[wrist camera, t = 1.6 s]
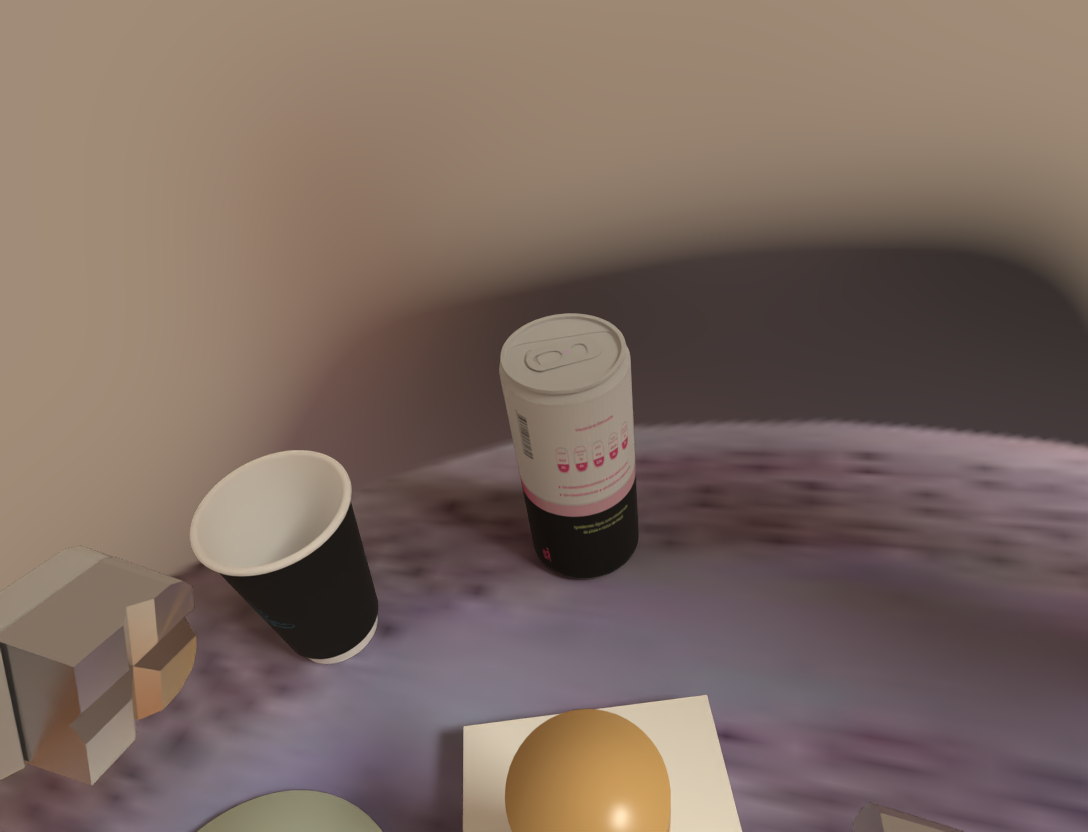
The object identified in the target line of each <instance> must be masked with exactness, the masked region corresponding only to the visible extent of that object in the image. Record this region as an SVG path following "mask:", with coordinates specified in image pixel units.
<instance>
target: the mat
mask: <svg viewBox="0 0 1088 832" xmlns="http://www.w3.org/2000/svg"><path fill="white" fill-rule="evenodd" d="M197 832H383V831H382V830H381V829H380V828H379V827H378V825H377V824H376V823H375V822H374V821H373V820H372V819H371V818H370V817H369V816H368V815H367V814H366V813H364V812H363V811H362V810H361V809H359V808H358V807H357V806H355V805H353V804H351V803H350V802H348V801H346V800H344V799H342V798H339V797H336V796H334V795H331V794H328V793H323V792H317V791H312V790H291V791H282V792H276V793H272V794H268V795H264V796H260V797H257V798H255V799H252V800H249V801H247V802H244V803H242V804H240V805H238V806H236V807H234V808H232V809H230V810H228V811H226V812H224V813H223V814H221V815H220V816H218V817H217V818H215V819H214V820H212V821H210V822H209V823H207V824H206V825H205V826H204V827H202V828H201V829H200V830H199V831H197Z"/></svg>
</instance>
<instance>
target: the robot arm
mask: <svg viewBox="0 0 1088 832" xmlns="http://www.w3.org/2000/svg"><path fill="white" fill-rule="evenodd" d="M194 608H195V605H194V596H193V586H191V585H189V584H188V583H186V582H184V581H182V580H179V579H176V578H173V577H170V576H168V575H165V574H162V573H159V572H156V571H154V570H151V569H148V568H145V567H142V566H139V565H136V564H133V563H131V562H128V561H125V560H123V559H120V558H117V557H112V556H109V555H106V554H104V553H100V552H98V551H95V550H92V549H89V548H86V547H84V546H76V547H71V548H66V549H64V550H62V551H61V552H59V553H58V554H56V555H55V556H54V557H52V558H50V559H49V560H47V561H46V562H44V563H43V564H41V565H40V566H38V567H37V568H35V569H34V570H32V571H31V572H29V573H28V574H26V575H25V576H23V577H22V578H20V579H19V580H17V581H15V582H14V583H13V584H11V585H9V586H8V587H7V588H5V589H3V590H2V591H1V592H0V780H1V779H3V778H5V777H7V776H9V775H11V774H13V773H15V772H17V771H19V770H21V769H23V768H24V767H25V763H27V764H30V765H33V766H36V767H39V768H42V769H45V770H48V771H51V772H53V773H56V774H59V775H62V776H65V777H68V778H71V779H74V780H77V781H80V782H83V783H86V784H89V785H93V784H94V783H95V782H96V781H97V779H98V778H99V777H100V776H101V775H102V774H103V773H104V772H105V771H106V770H107V769H108V768H109V767H110V766H111V765H112V764H113V763H114V761H115V760H116V759H117V758H118V757H119V756H120V755H121V754H122V753H123V752H124V751H125V750H126V749H127V748H128V747H129V746H130V745H131V744H132V742H133V741H134V740H135V739H136V733H137V725H138V720H140V719H142V718H145V717H147V716H149V715H152V714H154V713H157V712H159V711H162V710H163V709H164V708H165V707H166V706H167V705H168V704H169V703H170V702H171V701H172V699H173V698H174V697H175V696H176V695H177V694H178V693H179V692H180V690H181V688H182V686H183V685H184V683H185V681H186V679H187V677H188V676H189V674H190V672H191V670H192V668H193V664H194V660H195V655H196V651H197V645H196V634H195V632H194V631H193V629H192V628H191V626H190V625H189V623H188V622H187V620H186V619H185V616H186V615H187V614H188V613H189V612H190V611H191V610H193V609H194ZM853 830H854V832H964V831H962V830H959V829H956V828H953V827H949V826H946V825H943V824H940V823H936V822H933V821H930V820H927V819H924V818H920V817H917V816H914V815H911V814H908V813H904V812H901V811H898V810H895V809H891V808H888V807H885V806H882V805H879V804H875V803H872V802H869V803H868V804H866V805H865V806H864V807H862V808H861V809H860V811H859V813H858V815H857V816H856V818H855V820H854V822H853Z"/></svg>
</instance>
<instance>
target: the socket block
mask: <svg viewBox="0 0 1088 832" xmlns="http://www.w3.org/2000/svg"><path fill="white" fill-rule="evenodd" d="M597 710H603V711H608V712H611V713H614V714H617V715H619V716H621V717H623V718H625V719H627V720H629V721H630V722H632V723H633V724H635V725H636V726H637V727H639V728H640V729H641V730H642V731H643V732H644V733H645V734H646V735H647V736H648V737H649V738H650V739H651V741H652V742H653V743H654V745H655V746H656V748H657V749H658V751H659V753H660V755H661V756H662V759H663V761H664V764H665V766H666V769H667V773H668V777H669V782H670V789H671V832H742V830H741V826H740V822H739V818H738V814H737V810H736V806H735V802H734V798H733V795H732V791H731V787H730V783H729V779H728V775H727V771H726V767H725V763H724V759H723V756H722V752H721V748H720V744H719V740H718V736H717V732H716V728H715V724H714V720H713V717H712V713H711V709H710V705H709V701H708V697H707V695H702V696H694V697H686V698H679V699H671V700H663V701H655V702H648V703H640V704H632V705H625V706H617V707H609V708H601V709H597ZM556 715H559V714H555V715H547V716H540V717H532V718H524V719H517V720H509V721H501V722H493V723H486V724H478V725H470V726H464V738H463V832H512V831H511V828H510V825H509V823H508V818H507V814H506V807H505V786H506V779H507V775H508V771H509V768H510V765H511V762H512V760H513V758H514V756H515V754H516V752H517V750H518V748H519V747H520V745H521V744H522V743H523V741H524V740H525V739H526V738H527V736H528V735H529V734H530V733H531V732H532V731H533V730H534V729H536V728H537V727H538V726H539V725H540V724H542V723H544V722H545V721H547V720H548V719H550V718H552V717H554V716H556Z"/></svg>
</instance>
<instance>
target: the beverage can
mask: <svg viewBox="0 0 1088 832" xmlns="http://www.w3.org/2000/svg"><path fill="white" fill-rule="evenodd" d="M499 373H500V378H501V383H502V388H503V393H504V398H505V402H506V408H507V413H508V417H509V423H510V428H511V433H512V438H513V443H514V448H515V453H516V458H517V463H518V468H519V473H520V477H521V482H522V487H523V492H524V497H525V502H526V507H527V512H528V517H529V522H530V527H531V532H532V537H533V542H534V547H535V550H536V552H537V554H538V556H539V558H540V559H541V561H542V562H543V563H544V564H545V565H546V566H547V567H549V568H550V569H551V570H553V571H555V572H556V573H559V574H561V575H564V576H567V577H571V578H578V579H589V578H596V577H600V576H604V575H607V574H609V573H611V572H613V571H615V570H617V569H618V568H620V567H621V566H622V565H624V564H625V563H626V562H627V561H628V560H629V558H630V557H631V556H632V554H633V552H634V550H635V548H636V546H637V542H638V514H637V493H636V471H635V449H634V427H633V407H632V384H631V362H630V354H629V350H628V348H627V346H626V342H625V339H624V337H623V335H622V333H621V332H620V331H619V330H618V329H617V328H616V327H615V326H614V325H612V324H611V323H609V322H607V321H605V320H603V319H600V318H598V317H594V316H590V315H583V314H559V315H553V316H547V317H544V318H541V319H537V320H535V321H532V322H530V323H528V324H526V325H524V326H522V327H521V328H520V329H518V330H517V331H515V332H514V333H513V334H512V335H511V336H510V337H509V338H508V339H507V341H506V342H505V344H504V346H503V348H502V351H501V362H500V367H499Z"/></svg>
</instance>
